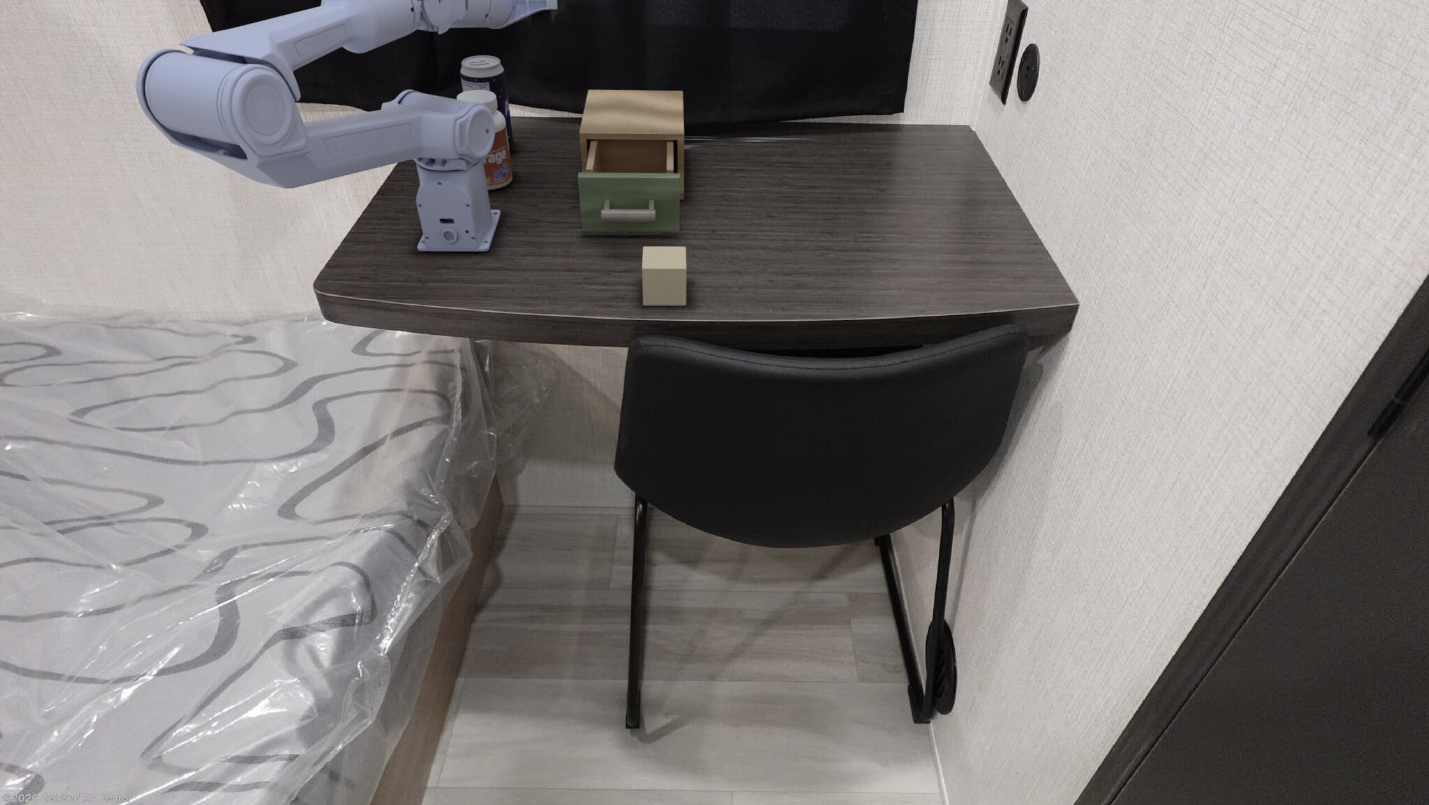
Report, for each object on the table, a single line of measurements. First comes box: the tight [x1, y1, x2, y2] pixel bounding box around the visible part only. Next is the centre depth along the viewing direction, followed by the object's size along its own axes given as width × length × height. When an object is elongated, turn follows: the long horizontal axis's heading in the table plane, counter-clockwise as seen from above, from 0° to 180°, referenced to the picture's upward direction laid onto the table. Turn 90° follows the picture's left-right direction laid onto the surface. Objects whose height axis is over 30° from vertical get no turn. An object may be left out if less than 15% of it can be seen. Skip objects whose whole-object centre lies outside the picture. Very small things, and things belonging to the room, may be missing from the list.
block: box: [641, 245, 687, 306], centre depth 88 cm, size 4×4×4 cm
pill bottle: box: [456, 90, 513, 191], centre depth 105 cm, size 6×6×11 cm
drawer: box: [577, 139, 681, 233], centre depth 99 cm, size 18×11×7 cm, turn 2°
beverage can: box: [459, 54, 515, 150], centre depth 113 cm, size 6×6×12 cm
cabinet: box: [578, 89, 685, 200], centre depth 109 cm, size 15×13×9 cm
